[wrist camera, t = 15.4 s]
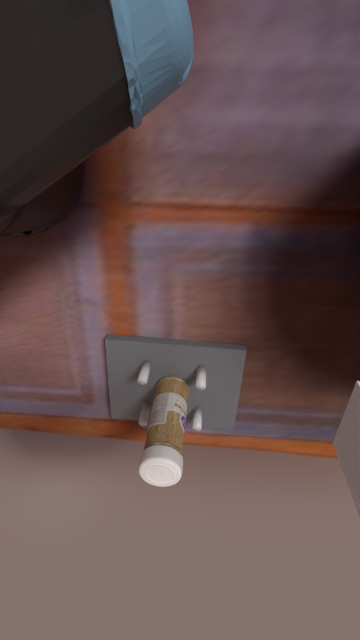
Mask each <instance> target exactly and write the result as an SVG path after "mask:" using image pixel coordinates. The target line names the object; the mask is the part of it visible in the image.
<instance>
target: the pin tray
mask: <svg viewBox="0 0 360 640" xmlns="http://www.w3.org/2000/svg"><path fill="white" fill-rule="evenodd" d="M105 349H106V361H107V373H108V385H109V398H110V410H111V418H112V419H123V420H134V421H139V425H140V426H147V424H148V422H149V421H150V416H151V411H152V407H153V402H154V400H155V395H156V386H157V383H158V382H159V381H160V380H161V379H163V378H164V377H169V376H175V377H179V378H181V379H183V380H184V381H185V382H186V383H187V384H188V387H189V395H188V399H187V413H186V422H185V425H188V426H193V427H192V429H193V430H194V431H200V430H201V429H202V427H209V428H220V429H231V430H234V424H235V418H236V412H237V407H238V401H239V395H240V389H241V383H242V377H243V371H244V365H245V359H246V353H247V347H246V345H238V344H225V343H213V342H200V341H188V340H175V339H163V338H151V337H138V336H126V335H113V334H107V335H106V337H105Z"/></svg>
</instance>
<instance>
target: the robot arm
mask: <svg viewBox="0 0 360 640" xmlns="http://www.w3.org/2000/svg"><path fill="white" fill-rule="evenodd" d="M193 47H194V39H193V30H192V23H191V17H190V12H189V7H188V3H187V0H0V236H11V237H24V236H31V235H35V234H38V233H41V232H43V231H46V230H48V229H49V228H51V227H52V226H54V225H56V224H57V223H59V222H60V221H61V220H63V219H64V218H65V217H66V216H67V215H68V214H69V212H70V211H71V210H72V208H73V207H74V205H75V203H76V201H77V199H78V197H79V194H80V191H81V187H82V181H83V161H85V160H86V159H87V158H89V157H90V156H91V155H93V154H94V153H95V152H97V151H98V150H99V149H101V148H102V147H103V146H105V145H106V144H107V143H109V142H110V141H111V140H113V139H114V138H115V137H117V136H118V135H119V134H121V133H122V132H123V131H125V130H126V129H127V128H129V127H130V126H131V127H132V128H133V129H136V128H137V127H138V126H139V125H140V124H141V122H142V118H143V117H144V116H145V115H146V114H148V113H149V112H150V111H151V110H152V109H154V108H155V107H156V106H157V105H159V104H160V103H161V102H162V101H163V100H165V99H166V98H167V97H168V96H170V95H171V94H172V93H173V92H174V91H176V90H177V89H178V88H179V87H180V86H181V85H182V83H183V82H184V81H185V79H186V77H187V76H188V73H189V70H190V67H191V63H192V60H193ZM333 446H334V448H335V451H336V454H337V457H338V459H339V462H340V465H341V467H342V470H343V472H344V475H345V478H346V481H347V483H348V486H349V489H350V491H351V494H352V497H353V499H354V502H355V505H356V507H357V510H358V513H359V516H360V381H356V384H355V387H354V389H353V392H352V394H351V397H350V400H349V402H348V405H347V407H346V410H345V413H344V415H343V418H342V420H341V423H340V426H339V428H338V431H337V433H336V436H335V439H334V441H333Z"/></svg>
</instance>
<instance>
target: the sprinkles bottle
mask: <svg viewBox="0 0 360 640" xmlns="http://www.w3.org/2000/svg"><path fill="white" fill-rule="evenodd" d="M188 395H189V387H188V384H187V383H186V382H185V381H184V380H183V379H181V378H179V377H175V376H169V377H164V378H163V379H161V380H160V381H159V382H158V383H157V386H156V395H155V400H154V402H153V407H152V411H151V416H150V421H149V425H148V430H147V437H146V442H145V447H144V450H143V452H142V454H141V458H140V463H139V474H140V476H141V478H143V480H144V481H146V482H147V483H149V484H151V485H155V486H160V487H166V486H171V485H174V484H175V483H177V482H178V481H179V480H180V478H181V475H182V469H183V458H182V446H183V437H184V432H185V422H186V413H187V399H188Z"/></svg>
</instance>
